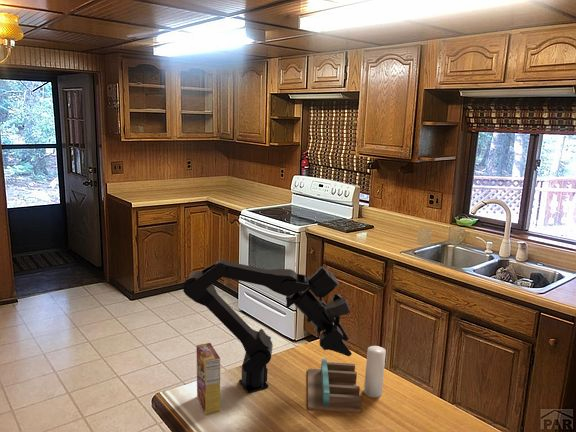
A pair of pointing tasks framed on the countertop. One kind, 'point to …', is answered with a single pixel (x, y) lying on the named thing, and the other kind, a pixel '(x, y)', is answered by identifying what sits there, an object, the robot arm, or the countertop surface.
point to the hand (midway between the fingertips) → (348, 347)
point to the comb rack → (334, 388)
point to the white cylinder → (374, 371)
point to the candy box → (208, 378)
